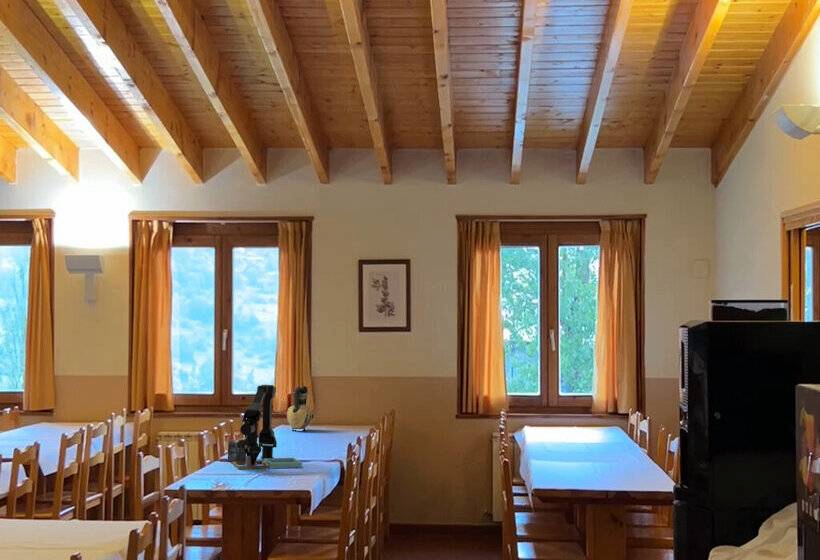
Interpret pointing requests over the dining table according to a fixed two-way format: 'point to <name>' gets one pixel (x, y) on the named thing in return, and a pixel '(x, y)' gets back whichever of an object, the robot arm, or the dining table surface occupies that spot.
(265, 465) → the corral
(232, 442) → the box
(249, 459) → the slate block
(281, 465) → the bin
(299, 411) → the amphora
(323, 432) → the dining table surface
